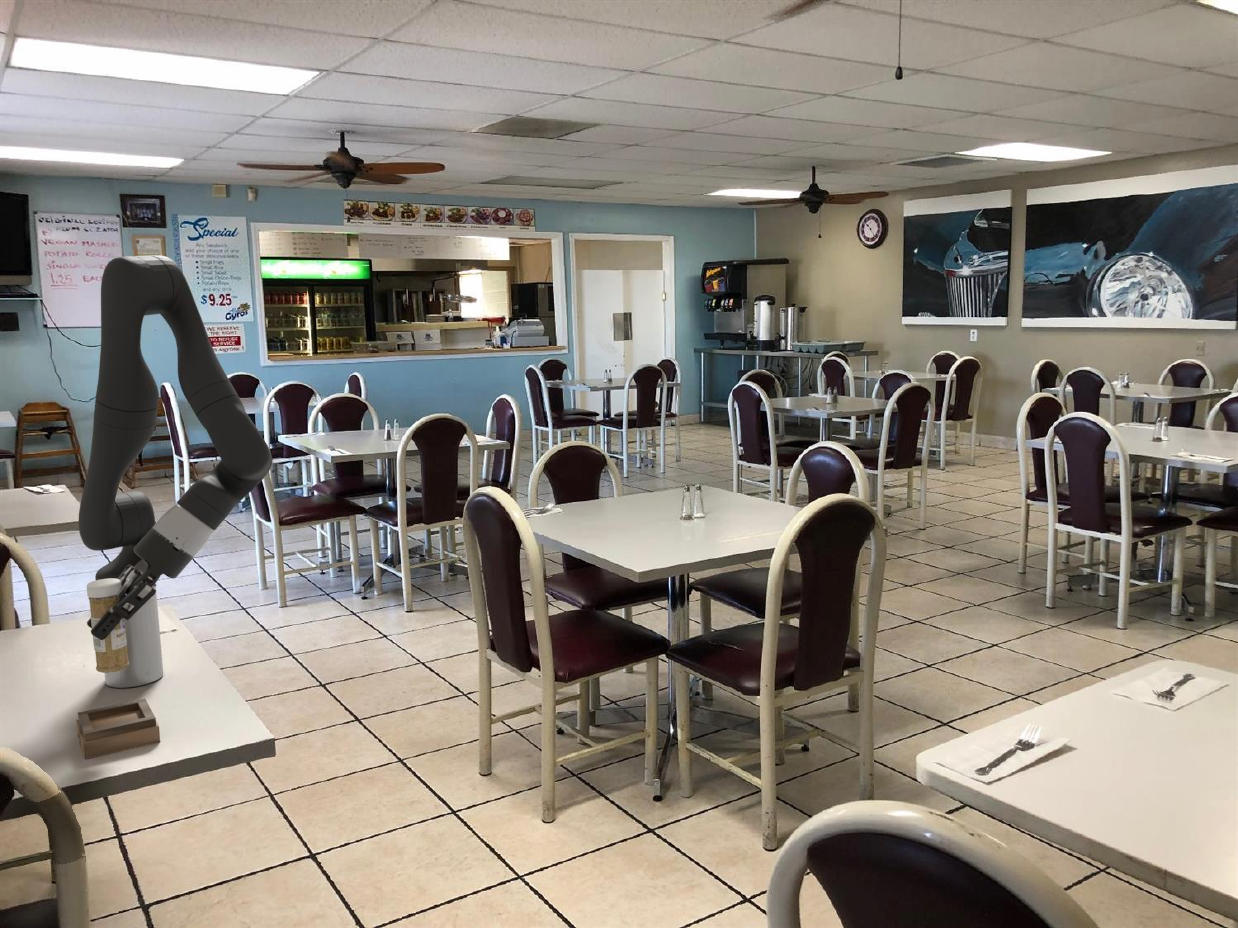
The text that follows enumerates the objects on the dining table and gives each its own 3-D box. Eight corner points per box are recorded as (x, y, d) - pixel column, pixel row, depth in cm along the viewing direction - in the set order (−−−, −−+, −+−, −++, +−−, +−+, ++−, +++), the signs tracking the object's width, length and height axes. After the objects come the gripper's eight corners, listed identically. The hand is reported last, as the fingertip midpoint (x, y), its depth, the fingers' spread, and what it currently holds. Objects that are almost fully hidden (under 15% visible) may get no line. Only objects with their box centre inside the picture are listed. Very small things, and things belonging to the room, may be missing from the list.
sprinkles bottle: (131, 669, 146) (122, 582, 144) (97, 676, 143) (87, 587, 141) (127, 660, 150) (118, 575, 148) (94, 667, 147) (84, 580, 145)
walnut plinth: (77, 735, 149) (75, 712, 149) (148, 719, 155) (146, 697, 154) (85, 759, 141) (82, 735, 141) (160, 741, 147) (158, 718, 146)
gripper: (146, 518, 153) (66, 607, 148) (162, 534, 142) (76, 630, 137) (185, 546, 157) (109, 633, 152) (204, 563, 145) (122, 659, 140)
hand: (94, 631), depth 144 cm, fingers closed on sprinkles bottle, 4 cm apart
